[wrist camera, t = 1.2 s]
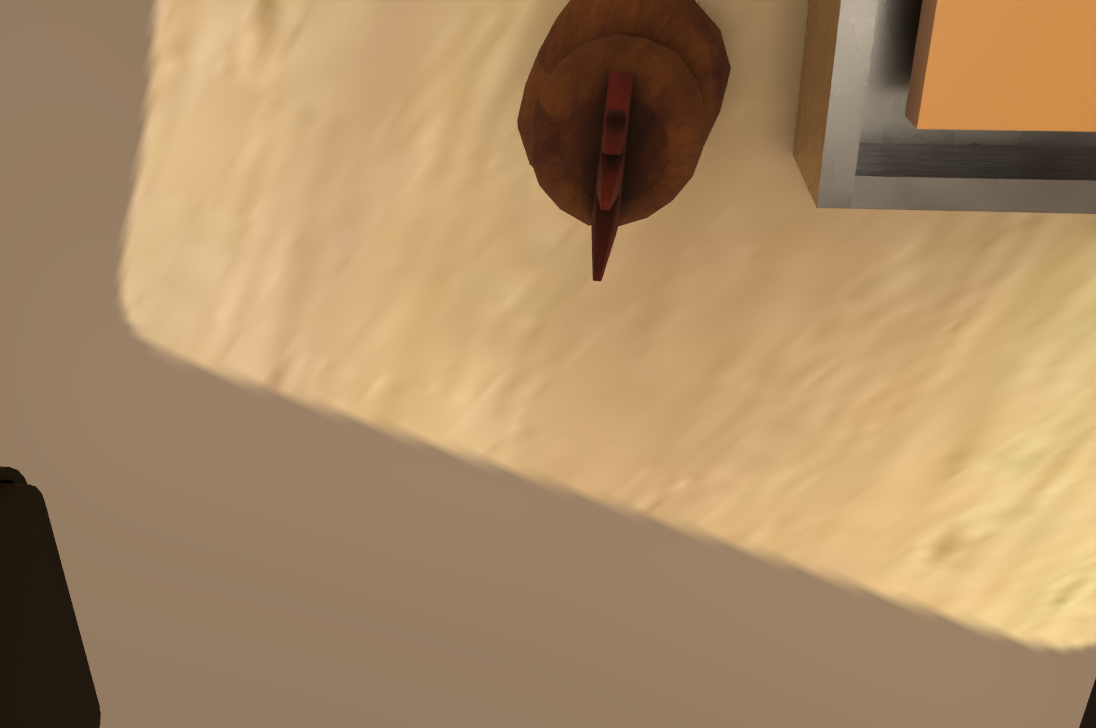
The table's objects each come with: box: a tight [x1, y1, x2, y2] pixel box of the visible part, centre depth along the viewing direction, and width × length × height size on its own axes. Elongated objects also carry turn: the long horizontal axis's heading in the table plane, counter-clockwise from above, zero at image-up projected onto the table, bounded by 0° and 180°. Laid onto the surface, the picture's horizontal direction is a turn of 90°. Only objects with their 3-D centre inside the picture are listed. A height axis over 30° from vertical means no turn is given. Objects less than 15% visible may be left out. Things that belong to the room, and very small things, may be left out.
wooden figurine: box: [517, 0, 731, 281], centre depth 28 cm, size 7×6×15 cm
